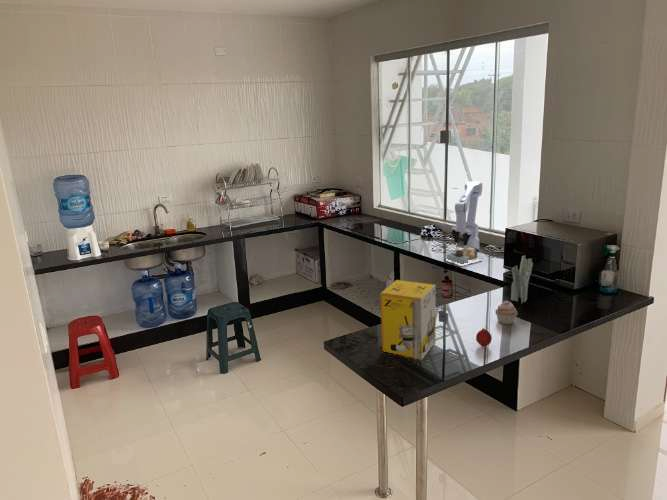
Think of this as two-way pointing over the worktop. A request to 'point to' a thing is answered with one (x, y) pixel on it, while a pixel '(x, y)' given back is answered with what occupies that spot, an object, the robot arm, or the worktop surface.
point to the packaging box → (408, 318)
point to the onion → (483, 337)
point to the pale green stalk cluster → (521, 280)
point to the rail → (467, 253)
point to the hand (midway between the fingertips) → (460, 243)
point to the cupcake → (506, 313)
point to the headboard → (459, 258)
